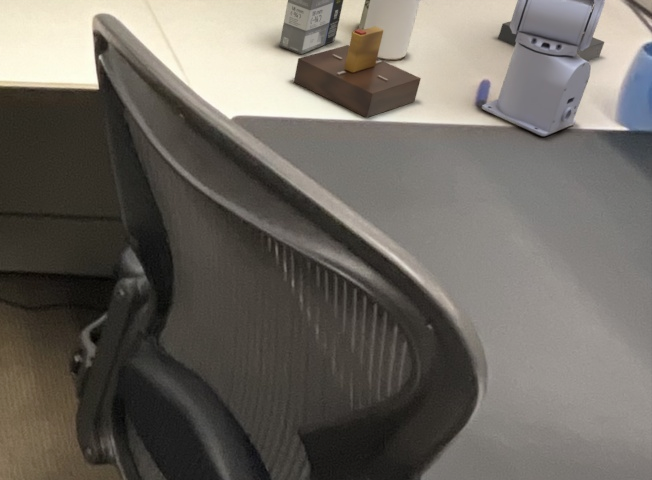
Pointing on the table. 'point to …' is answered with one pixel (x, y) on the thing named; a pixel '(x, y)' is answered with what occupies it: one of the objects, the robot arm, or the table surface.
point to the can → (393, 25)
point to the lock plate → (356, 82)
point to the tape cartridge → (310, 24)
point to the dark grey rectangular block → (586, 54)
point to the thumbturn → (363, 49)
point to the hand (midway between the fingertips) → (558, 18)
